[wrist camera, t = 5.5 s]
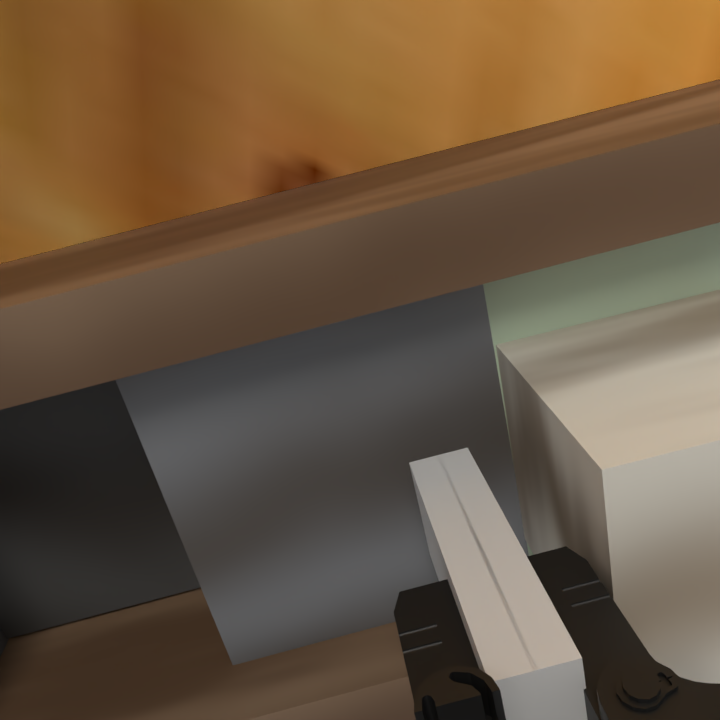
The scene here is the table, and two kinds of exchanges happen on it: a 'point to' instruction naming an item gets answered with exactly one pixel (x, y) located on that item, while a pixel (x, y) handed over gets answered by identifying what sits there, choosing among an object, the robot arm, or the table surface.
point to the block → (629, 465)
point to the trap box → (303, 408)
